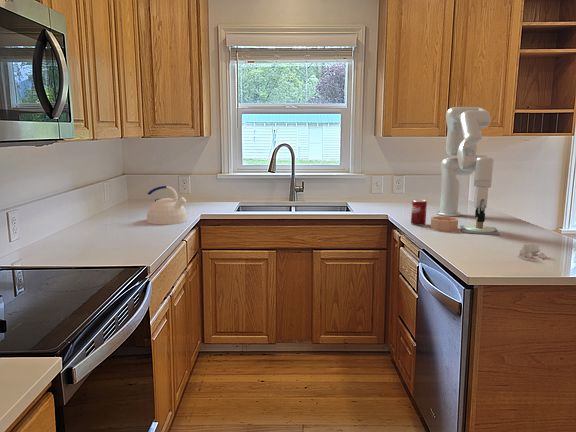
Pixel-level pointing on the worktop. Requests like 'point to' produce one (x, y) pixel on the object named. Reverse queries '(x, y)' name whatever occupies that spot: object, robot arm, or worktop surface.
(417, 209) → the soda can
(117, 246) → the worktop surface
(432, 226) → the bowl
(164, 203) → the kettle
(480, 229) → the lid
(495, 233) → the mat
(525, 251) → the fabric
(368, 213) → the worktop surface
